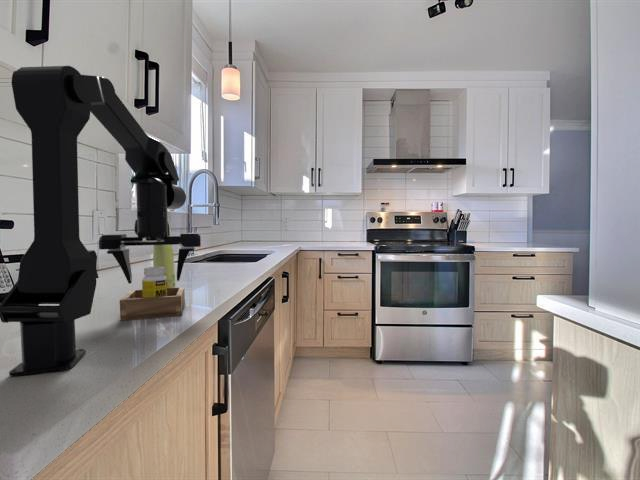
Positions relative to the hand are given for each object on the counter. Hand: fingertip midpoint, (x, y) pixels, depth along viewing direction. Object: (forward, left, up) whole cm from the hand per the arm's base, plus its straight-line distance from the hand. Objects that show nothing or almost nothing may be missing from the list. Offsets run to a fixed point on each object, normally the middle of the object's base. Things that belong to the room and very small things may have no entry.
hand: (154, 281), depth 74 cm
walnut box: (0, 0, -6) cm, 6 cm away
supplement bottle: (0, 0, -6) cm, 6 cm away
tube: (+10, -1, -7) cm, 12 cm away
